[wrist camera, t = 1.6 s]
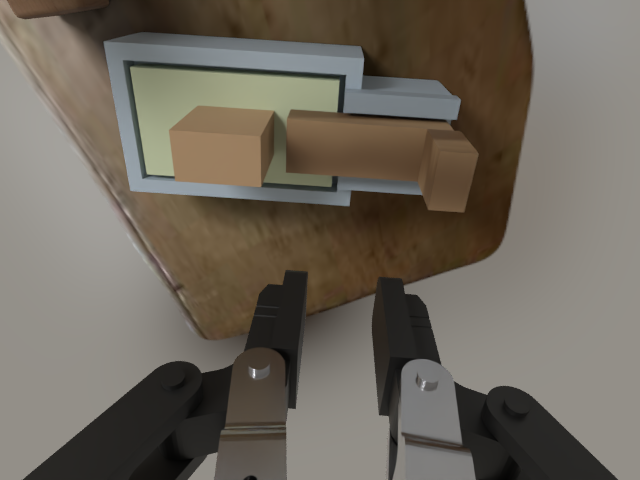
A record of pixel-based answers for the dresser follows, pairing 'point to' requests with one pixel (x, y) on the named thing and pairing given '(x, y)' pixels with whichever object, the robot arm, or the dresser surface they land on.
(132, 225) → the dresser surface
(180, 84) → the lid
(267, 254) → the dresser surface
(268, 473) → the robot arm
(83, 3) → the wooden block
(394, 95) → the blue-grey open box
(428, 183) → the wooden l-shaped block
